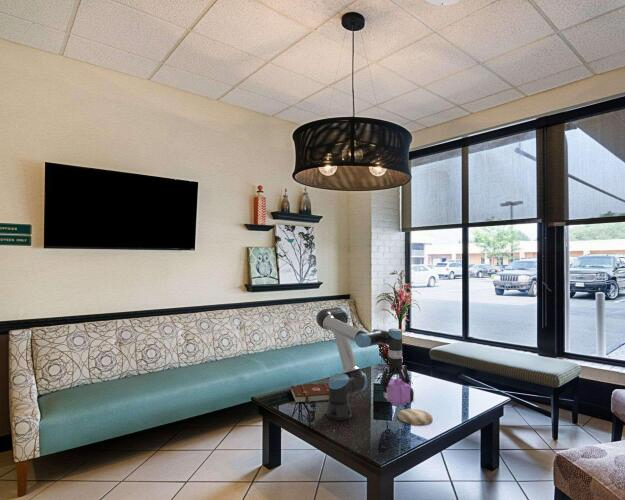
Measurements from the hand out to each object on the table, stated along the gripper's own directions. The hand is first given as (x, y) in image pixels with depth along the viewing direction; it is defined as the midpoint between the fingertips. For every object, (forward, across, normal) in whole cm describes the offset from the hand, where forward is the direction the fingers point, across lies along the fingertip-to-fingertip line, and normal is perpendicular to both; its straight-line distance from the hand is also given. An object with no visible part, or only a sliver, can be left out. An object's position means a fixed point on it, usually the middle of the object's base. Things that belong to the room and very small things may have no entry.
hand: (395, 396), depth 213 cm
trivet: (+17, +18, +7) cm, 26 cm away
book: (+18, -23, +62) cm, 68 cm away
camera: (+17, +29, +35) cm, 49 cm away
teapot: (+3, 0, 0) cm, 3 cm away
